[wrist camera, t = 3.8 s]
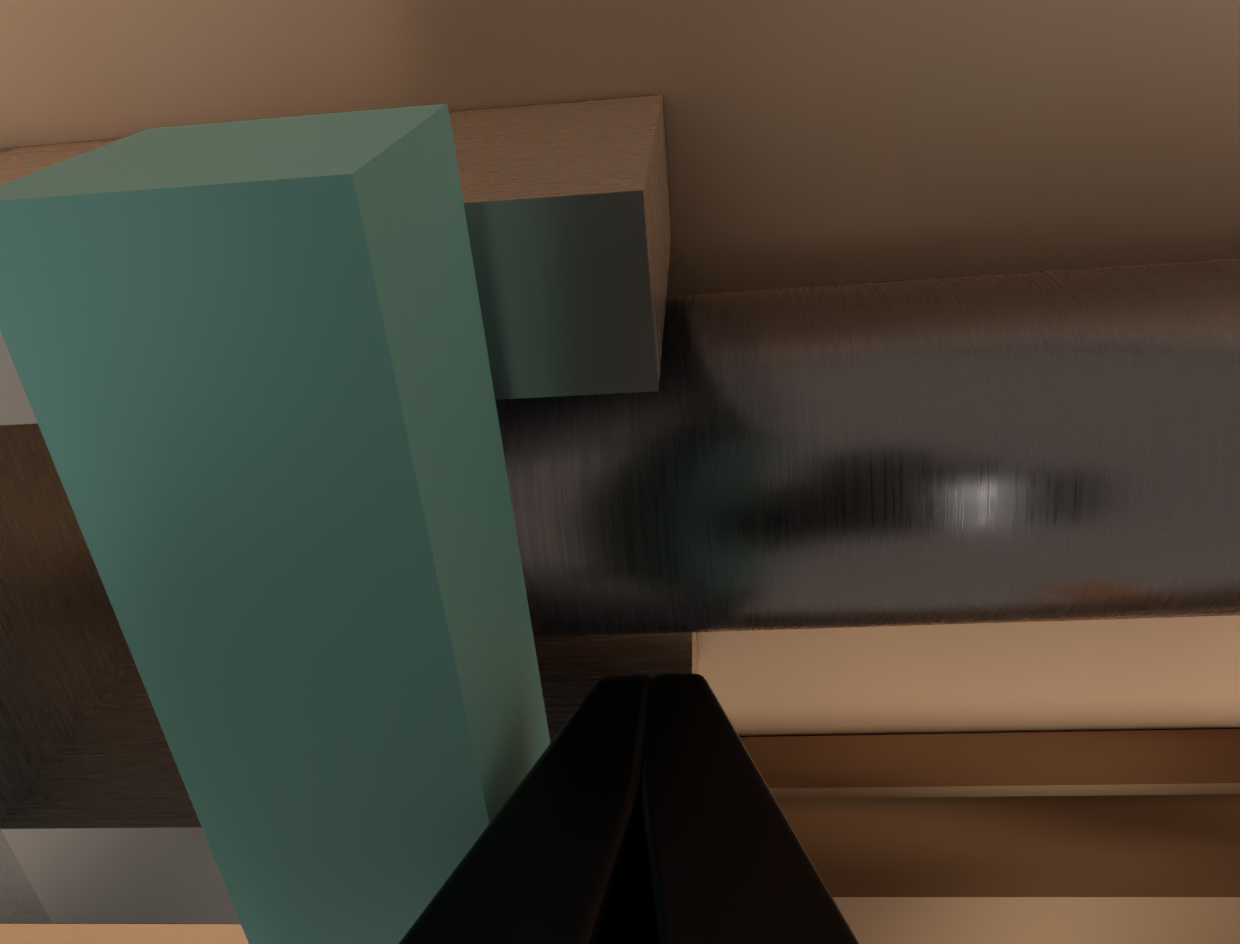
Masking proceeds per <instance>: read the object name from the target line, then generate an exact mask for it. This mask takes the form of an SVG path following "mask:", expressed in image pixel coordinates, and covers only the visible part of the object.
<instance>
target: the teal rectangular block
mask: <svg viewBox="0 0 1240 944" xmlns="http://www.w3.org/2000/svg"><path fill="white" fill-rule="evenodd" d="M0 332H1V334H2V336H3V339H4V341H5V344H6V346H7V349H8V351H9V354H10V356H11V359H12V361H13V364H14V366H15V369H16V371H17V373H18V376H19V378H20V381H21V383H22V386H23V388H24V391H25V393H26V396H27V398H28V401H29V403H30V405H31V408H32V410H33V413H34V415H35V418H36V420H37V423H38V425H39V428H40V430H41V433H42V435H43V437H44V440H45V442H46V445H47V447H48V450H49V452H50V455H51V457H52V460H53V462H54V465H55V467H56V470H57V472H58V474H59V477H60V479H61V482H62V484H63V487H64V489H65V492H66V494H67V497H68V499H69V502H70V504H71V506H72V509H73V511H74V514H75V516H76V519H77V521H78V524H79V526H80V529H81V531H82V534H83V536H84V538H85V541H86V543H87V546H88V548H89V551H90V553H91V556H92V558H93V561H94V563H95V566H96V568H97V570H98V573H99V575H100V578H101V580H102V583H103V585H104V588H105V590H106V593H107V595H108V598H109V600H110V603H111V605H112V607H113V610H114V612H115V615H116V617H117V620H118V622H119V625H120V627H121V630H122V632H123V635H124V637H125V639H126V642H127V644H128V647H129V649H130V652H131V654H132V657H133V659H134V662H135V664H136V667H137V669H138V671H139V674H140V676H141V679H142V681H143V684H144V686H145V689H146V691H147V694H148V696H149V699H150V701H151V703H152V706H153V708H154V711H155V713H156V716H157V718H158V721H159V723H160V726H161V728H162V731H163V733H164V736H165V738H166V740H167V743H168V745H169V748H170V750H171V753H172V755H173V758H174V760H175V763H176V765H177V768H178V770H179V772H180V775H181V777H182V780H183V782H184V785H185V787H186V790H187V792H188V795H189V797H190V800H191V802H192V804H193V807H194V809H195V812H196V814H197V817H198V819H199V822H200V824H201V827H202V829H203V832H204V834H205V836H206V839H207V841H208V844H209V846H210V849H211V851H212V854H213V856H214V859H215V861H216V864H217V866H218V869H219V871H220V873H221V876H222V878H223V881H224V883H225V886H226V888H227V891H228V893H229V896H230V898H231V901H232V903H233V905H234V908H235V910H236V913H237V915H238V918H239V920H240V923H241V925H242V928H243V930H244V933H245V935H246V937H247V940H248V942H249V944H399V942H400V941H401V940H402V938H403V937H404V936H405V934H406V933H407V932H408V931H409V929H410V928H411V927H412V925H413V924H414V923H415V921H416V920H417V919H418V917H419V916H420V915H421V913H422V912H423V911H424V909H425V908H426V907H427V905H428V904H429V903H430V901H431V900H432V899H433V898H434V896H435V895H436V894H437V892H438V891H439V890H440V888H441V887H442V886H443V884H444V883H445V882H446V880H447V879H448V878H449V876H450V875H451V874H452V872H453V871H454V870H455V868H456V867H457V866H458V865H459V863H460V862H461V861H462V859H463V858H464V857H465V855H466V854H467V853H468V851H469V850H470V849H471V847H472V846H473V845H474V843H475V842H476V841H477V839H478V838H479V837H480V835H481V834H482V833H483V832H484V830H485V829H486V828H487V826H488V825H489V824H490V822H491V821H492V820H493V818H494V817H495V816H496V814H497V813H498V812H499V810H500V809H501V808H502V806H503V805H504V804H505V802H506V801H507V800H508V799H509V797H510V796H511V795H512V793H513V792H514V791H515V789H516V788H517V787H518V785H519V784H520V783H521V781H522V780H523V779H524V777H525V776H526V775H527V773H528V772H529V771H530V769H531V768H532V767H533V766H534V764H535V763H536V762H537V760H538V759H539V758H540V756H541V755H542V754H543V752H544V751H545V750H546V748H547V747H548V746H549V744H550V736H549V730H548V724H547V718H546V712H545V705H544V699H543V693H542V687H541V681H540V674H539V668H538V662H537V656H536V650H535V643H534V637H533V631H532V625H531V618H530V612H529V606H528V600H527V594H526V587H525V581H524V575H523V569H522V563H521V556H520V550H519V544H518V538H517V532H516V525H515V519H514V513H513V507H512V501H511V494H510V488H509V482H508V476H507V470H506V463H505V457H504V451H503V445H502V439H501V432H500V426H499V420H498V414H497V408H496V401H495V395H494V389H493V383H492V377H491V370H490V364H489V358H488V352H487V346H486V339H485V333H484V327H483V321H482V315H481V308H480V302H479V296H478V290H477V283H476V277H475V271H474V265H473V259H472V252H471V246H470V240H469V234H468V228H467V221H466V215H465V209H464V203H463V197H462V190H461V184H460V178H459V172H458V166H457V159H456V153H455V147H454V141H453V135H452V128H451V122H450V116H449V110H448V104H447V103H445V104H433V105H421V106H409V107H397V108H385V109H373V110H361V111H349V112H336V113H324V114H312V115H300V116H288V117H276V118H264V119H252V120H240V121H228V122H216V123H204V124H192V125H180V126H168V127H155V128H148V129H145V130H142V131H140V132H137V133H135V134H132V135H129V136H127V137H124V138H121V139H119V140H116V141H114V142H111V143H108V144H106V145H103V146H101V147H98V148H95V149H93V150H90V151H88V152H85V153H82V154H80V155H77V156H74V157H72V158H69V159H67V160H64V161H61V162H59V163H56V164H54V165H51V166H48V167H46V168H43V169H41V170H38V171H35V172H33V173H30V174H27V175H25V176H22V177H20V178H17V179H14V180H12V181H9V182H7V183H4V184H1V185H0Z"/></svg>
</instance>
